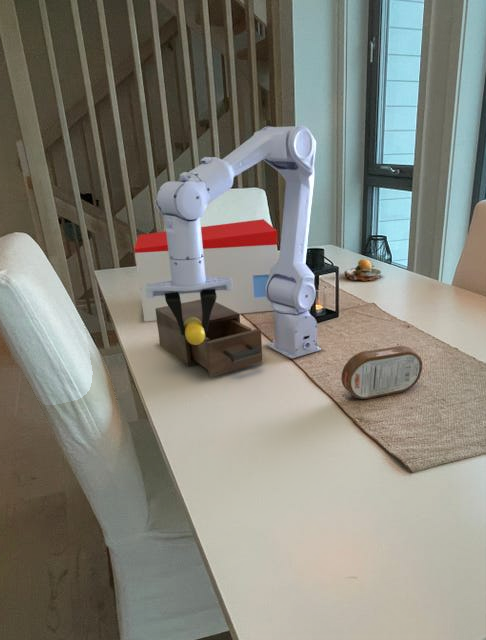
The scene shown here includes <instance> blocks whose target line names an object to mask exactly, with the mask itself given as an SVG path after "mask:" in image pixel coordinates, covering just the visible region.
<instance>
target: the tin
mask: <svg viewBox="0 0 486 640" xmlns="http://www.w3.org/2000/svg"><path fill="white" fill-rule="evenodd" d="M422 371H423V360H422V358H421V357H420V355H419V354H418V353H416V351H414V350H413V348H411V347H409V346H406V345H397V346H390V347H383V348H378V349H369V350H365V351H360V352H358V353H356V354H354V355H353V356H352V357H350V358H349V359H348V360H347V361H346V363H345V364H344V366H343V368H342V372H341V377H340V379H341V384H342V386H343V388H344V389H345V390H346V391H347V392H348V393H349V394H350V395H352V396H353V397H354V398H356V399H360V400H368V399H373V398H378V397H385V396H390V395H395V394H401V393H404V392H406V391H409V390H410V389H411V388H413V387H414V386H415V385H416V384H417V383H418V381H419V380H420V378H421V374H422Z"/></svg>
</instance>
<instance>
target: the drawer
mask: <svg viewBox="0 0 486 640" xmlns="http://www.w3.org/2000/svg"><path fill="white" fill-rule="evenodd" d="M189 347H190V356H191V358H192V359H194V360H195V361H197V362H198V364H200V366H202V367H204V368H205V369H206V370H207V371H208V373H207V374H208V376H209V377H211V378H213V377H216V376H220V375H222V374H227V373H230V372H233V371H237V370H240V369H244V368H247V367H250V366H253V365H257V364H261V363H263V362H264V361H263V360H264V359H263V343H262V330H261V329H259V328H255V329H252V328H251V327H250V326H247V325H245V324H243V323H242V322H240V323H239V322H238V321H236V320H234V319H229V320H225V321H220V322H216V323H212V324H208V332H207V333H205V339H204V341H203V342H202V343H200V344H198V345H193V344H191V343H189Z"/></svg>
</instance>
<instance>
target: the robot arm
mask: <svg viewBox="0 0 486 640" xmlns="http://www.w3.org/2000/svg"><path fill="white" fill-rule="evenodd" d="M316 149H317V141H316V139H315V137H314V136H313V134H312V132H311V131H310V129H309V128H308V127H307V126H305V125H302V124H298V125H295V126H294V125H293V126H292V125H291V126H269V125H268V126H265V127H262V128H261V129H260V130H257V131H255V132H253V135H251V137H249V139H247V140H246V141H244V142H243V143H242V144H240V145H239V146H238V147H237V148H235V149H234V150H232V151H231V152H230V153H229V154H227V155H226V156H224V157H223V158H222V159H221V158H219V157H216V156H212V157H210V156H204V157H203V158H201V159H200V163H201V164H199V165H197V166H196V167H194V168H193V169H192V170H190V171H188V172H187V171H183V172H182V173H180V174H179V178H178V180H177V181H176V180H174V181H173V180H170V181H166V182H164V183H163V184H161V185H160V187H159V190H158V191H157V196H156V199H154V206H155V208H156V210H157V211H158V212H159V214H160V215H161V216H162V218H163V224H164V226H165V227H164V228H165V231H166V236H167V244H168V252H169V260H170V268H171V276H172V280H171V281H165V282H159V283H153V284H146V293H147V298H153V297H154V296H164V295H165V300H166V303H167V305H168V306H169V308H170V309H171V311H172V312H173V314H174V316H175V318H176V320H177V322H178V324H179V327H180V330H181V335H185V327H184V323H183V317H182V308H181V300H180V295H179V294H186V293H197V292H200V297H201V306H202V325H203V328H204V331H205V333H207V332H208V324H209V319H210V315H211V311H212V308H213V306H214V303H215V301H216V297H217V296H216V291H219V290H227V291H231V290H233V287H232V279H231V278H230V277H225V278H206V276H205V265H204V255H203V244H202V233H201V227H202V223H201V218H202V217H203V215H204V214H205V212H206V209H207V206H208V205H209V204H210V203H211V202H213V201H215V200H216V199H217V198H219V197H220V196H222V195H223V194H224V193H226V192H227V191H229V190H231V188H232V187H233V185H234V178H235V177H237V176H238V175H241V174H242V173H243V172H245V171H247V170H248V169H250V168H251V167H253V166H254V165H257V164H258V163H260V162H261V161H264V162H265V163H266V164H268V165H269V166H270V167H272V168H273V169H275V170H276V171H277V172H278V173H279V174H280V176H282V178H283V179H284V181H285V191H284V192H285V193H284V201H283V211H282V212H283V214H282V225H281V234H280V246H279V258H278V261H277V262H278V263H277V264H275V265H274V266H273V267H272V268H271V269H270V276H269V279H268V281H267V283H266V287H265V294H266V297H267V299H268V300H269V301H270V302H271V307H273V308H274V311H273V326H274V327H273V328H274V329H273V330H274V341H272V342H268V343H267V344H266V347H268V348H270V349H272V350H274V351H276V352H277V353H280V354H281V355H283V356H285V357H287V358H289V359H296V358H299V357H303V356H305V355H306V356H307V355H308V354H312V353H315V352H318V351H319V352H320V351H321V347H320V346H318V322H317V319H316V318H315V317H314V316H313V315H312V314H311V313H310V310H311V308H312V306H313V305H314V303H315V301H316V300H315V299H316V295H317V293H316V292H317V291H316V286H315V274H314V272H312V270H311V269H310V267H309V266H308V265H307V264H306V261H307V253H308V243H309V242H308V241H309V234H310V233H309V231H310V225H311V224H310V222H311V213H312V203H313V195H314V187H315V174H316V172H315V160H316V159H315V158H316V151H317V150H316Z"/></svg>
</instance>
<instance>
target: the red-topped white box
mask: <svg viewBox="0 0 486 640" xmlns="http://www.w3.org/2000/svg"><path fill="white" fill-rule="evenodd" d="M201 233H202V244H203V255H204V265H205V276H206V278H225V277H230V278H231V279H232V287H233V290H231V291H227V290H219V291H216V296H217V297H216V301H215V302H217V303H219V304H221V305H223V306H225V307H227V308H229V309H231V310H233V311H235V312H237V313H239V314H240V315H241V314H250V313H262V312H274V308H273V307H271V302H270V301H269V300H268V299H267V297H266V294H265V287H266V283H267V281H268V279H269V276H270V269H271V268H272V267H273V266H274V265H275V264H277V263H278V262H279V261H278V230H277V229H276V228H274V227H273V226H272V225H271V224H270V223H268V222H267V220H265V219H264V218H262V219H255V220H254V219H253V220H246V221H239V222H238V221H237V222H232V223H231V222H230V223H223V224H221V223H220V224H214V225H207V226H201ZM136 239H137V240H136V242H135V246H134V249H133V251H134V259H135V264H136V265H135V267H136V272H137V280H138V287H139V293H140V301H141V307H142V314H143V321H144V322H145V323H146V322H157V318H156V310H155V309H156V308H160V307H165V306H168V305H167V303H166V300H165V295H164V296H154V297H153V298H147V293H146V284H153V283H159V282H165V281H171V280H172V276H171V268H170V260H169V252H168V244H167V236H166V230H165V231H158V232H151V233H142V234H138V236H137V238H136ZM179 295H180V300H181V303H186V302H191V301H196V300H201V297H200V292H197V293H186V294H179Z"/></svg>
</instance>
